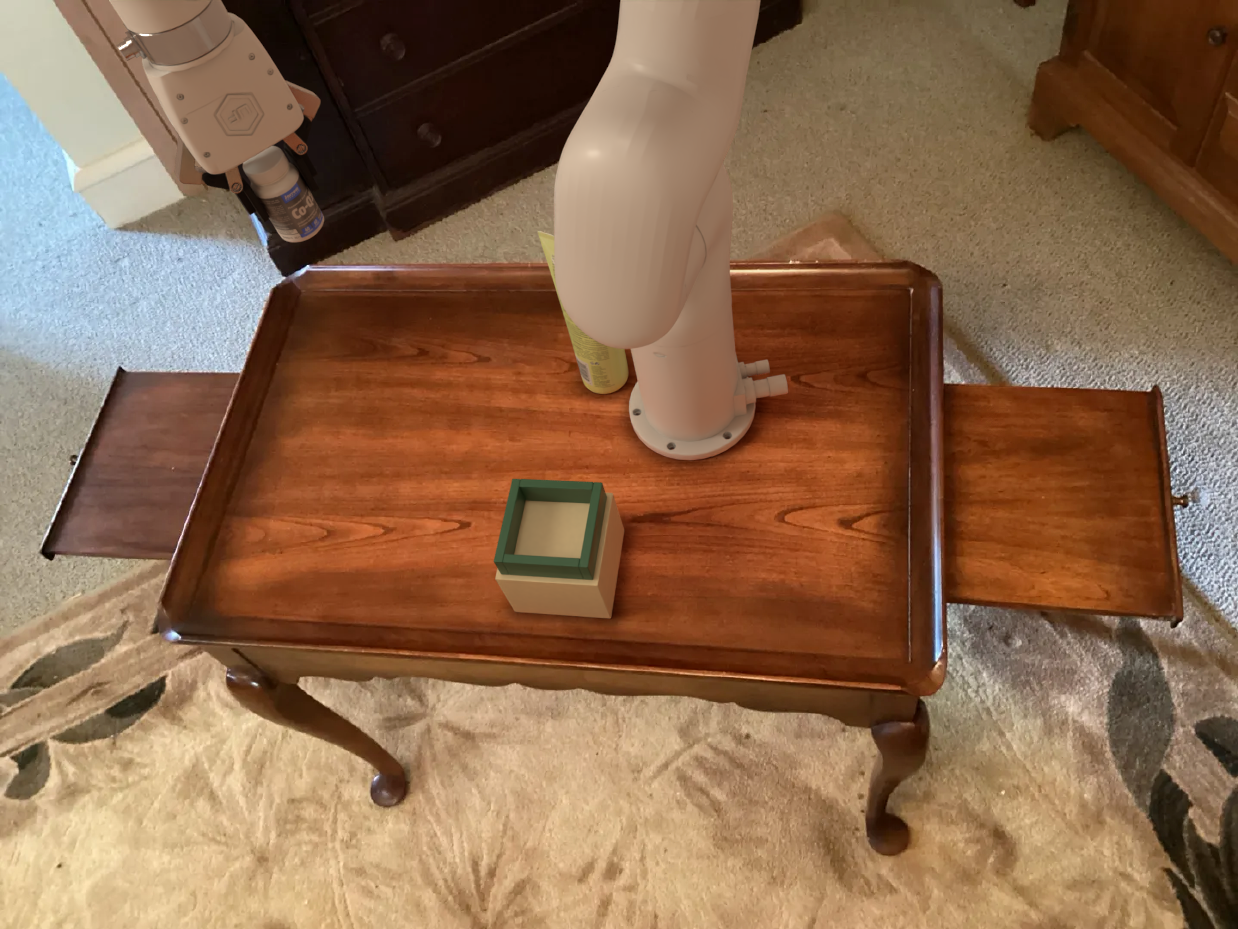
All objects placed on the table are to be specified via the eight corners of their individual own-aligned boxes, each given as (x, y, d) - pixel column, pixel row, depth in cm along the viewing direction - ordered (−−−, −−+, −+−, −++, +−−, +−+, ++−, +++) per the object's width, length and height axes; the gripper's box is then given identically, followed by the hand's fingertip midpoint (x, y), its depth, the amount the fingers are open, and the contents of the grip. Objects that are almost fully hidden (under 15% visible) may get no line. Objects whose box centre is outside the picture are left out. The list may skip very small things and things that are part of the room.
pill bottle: (315, 244, 94) (274, 177, 87) (273, 243, 95) (229, 177, 88) (332, 209, 96) (294, 141, 89) (291, 209, 98) (250, 142, 91)
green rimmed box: (624, 530, 90) (608, 477, 82) (611, 619, 86) (592, 572, 78) (532, 525, 92) (508, 473, 84) (514, 612, 88) (486, 566, 80)
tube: (629, 350, 102) (598, 213, 86) (640, 387, 99) (610, 252, 83) (577, 364, 102) (536, 229, 86) (587, 401, 99) (546, 269, 83)
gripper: (102, 98, 74) (224, 265, 89) (292, -7, 77) (378, 171, 93) (73, 60, 78) (194, 226, 93) (255, -39, 81) (343, 137, 96)
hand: (285, 197), depth 93 cm, fingers closed on pill bottle, 4 cm apart
